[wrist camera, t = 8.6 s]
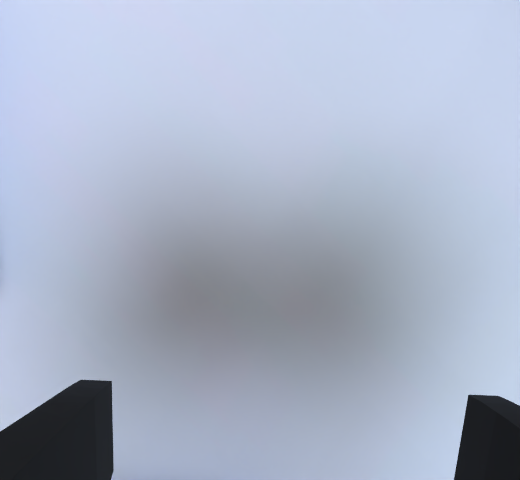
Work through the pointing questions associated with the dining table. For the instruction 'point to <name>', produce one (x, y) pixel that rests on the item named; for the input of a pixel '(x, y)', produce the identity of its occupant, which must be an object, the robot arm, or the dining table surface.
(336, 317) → the dining table surface
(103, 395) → the robot arm
